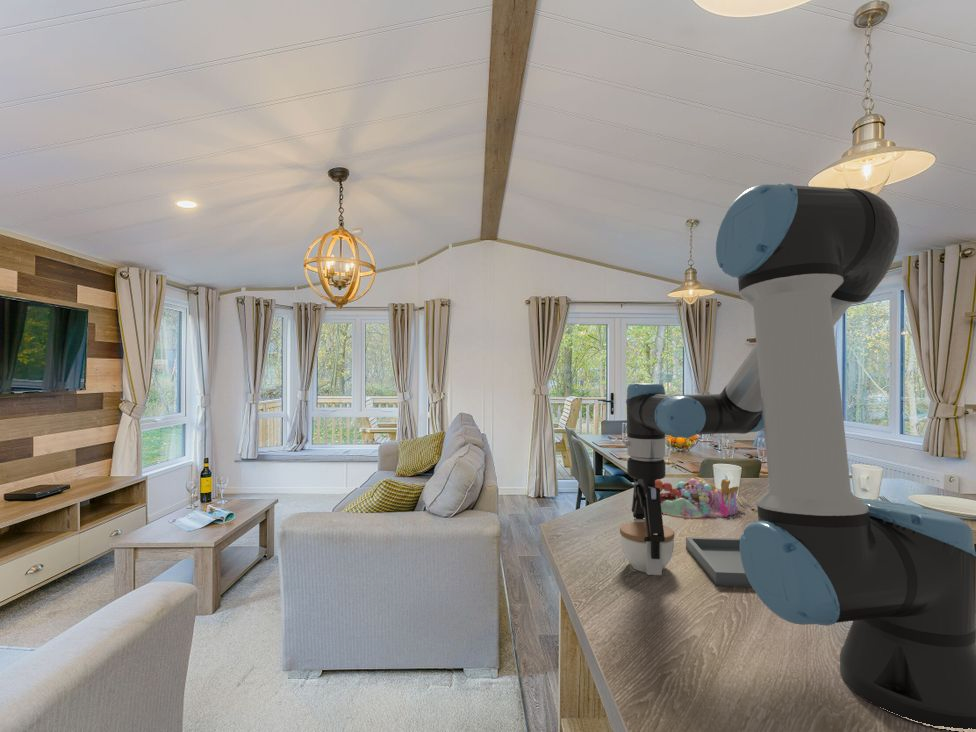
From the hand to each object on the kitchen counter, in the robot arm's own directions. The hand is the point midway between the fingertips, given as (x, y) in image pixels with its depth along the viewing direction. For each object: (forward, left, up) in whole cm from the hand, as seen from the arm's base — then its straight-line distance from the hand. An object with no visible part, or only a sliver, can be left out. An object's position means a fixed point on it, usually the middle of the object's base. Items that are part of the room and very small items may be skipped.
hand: (647, 560), depth 104 cm
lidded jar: (0, 0, -2) cm, 2 cm away
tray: (+2, -21, -1) cm, 21 cm away
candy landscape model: (+47, -22, -2) cm, 52 cm away
